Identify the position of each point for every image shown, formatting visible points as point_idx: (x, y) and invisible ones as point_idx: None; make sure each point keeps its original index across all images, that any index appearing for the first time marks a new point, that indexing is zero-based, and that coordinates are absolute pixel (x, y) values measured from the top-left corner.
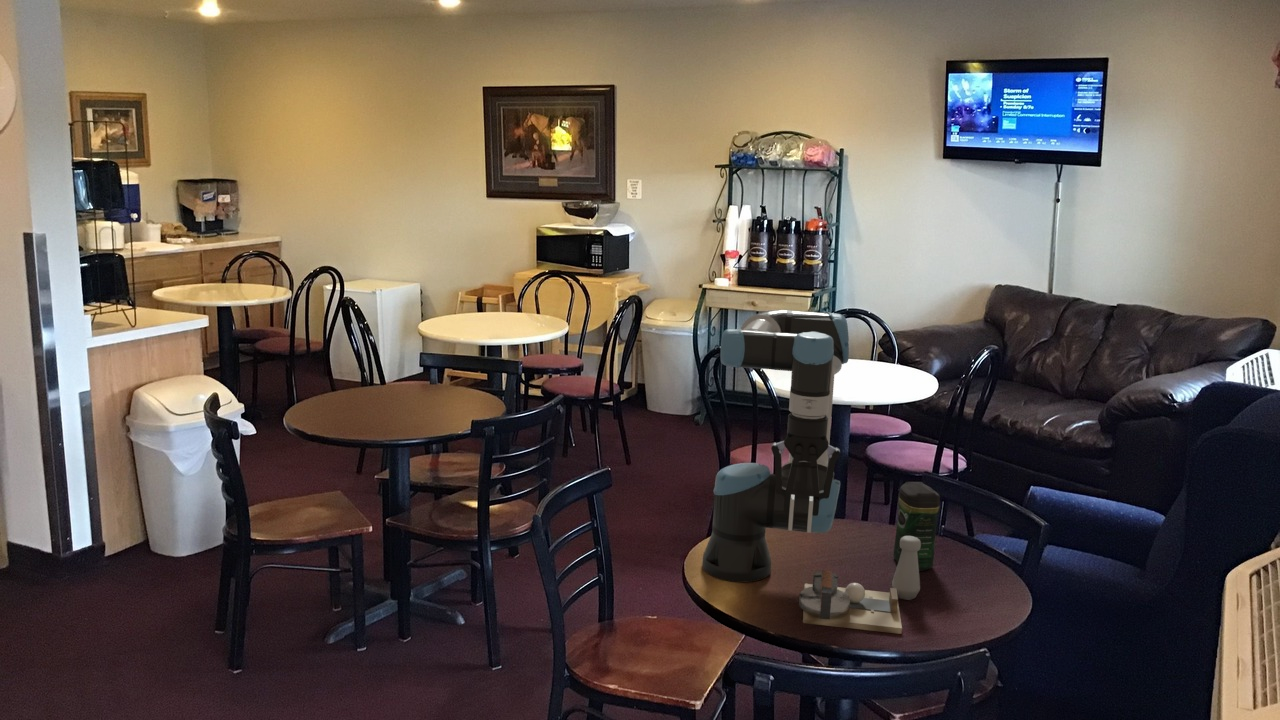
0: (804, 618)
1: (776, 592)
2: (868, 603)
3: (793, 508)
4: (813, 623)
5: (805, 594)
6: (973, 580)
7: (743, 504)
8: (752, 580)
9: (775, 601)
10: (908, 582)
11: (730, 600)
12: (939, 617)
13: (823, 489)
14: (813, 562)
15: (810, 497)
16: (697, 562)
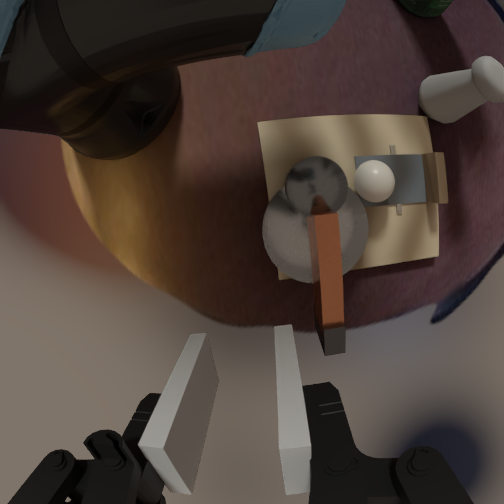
0: (281, 279)
1: (206, 163)
2: None
3: (200, 454)
4: None
5: (275, 234)
6: (485, 44)
7: (18, 114)
8: (153, 139)
9: (212, 205)
10: (455, 118)
11: (137, 235)
12: (476, 173)
13: (399, 499)
14: None
15: (288, 461)
16: None
